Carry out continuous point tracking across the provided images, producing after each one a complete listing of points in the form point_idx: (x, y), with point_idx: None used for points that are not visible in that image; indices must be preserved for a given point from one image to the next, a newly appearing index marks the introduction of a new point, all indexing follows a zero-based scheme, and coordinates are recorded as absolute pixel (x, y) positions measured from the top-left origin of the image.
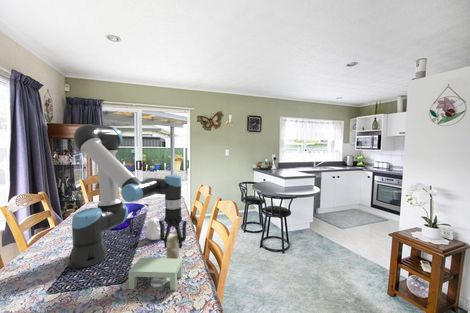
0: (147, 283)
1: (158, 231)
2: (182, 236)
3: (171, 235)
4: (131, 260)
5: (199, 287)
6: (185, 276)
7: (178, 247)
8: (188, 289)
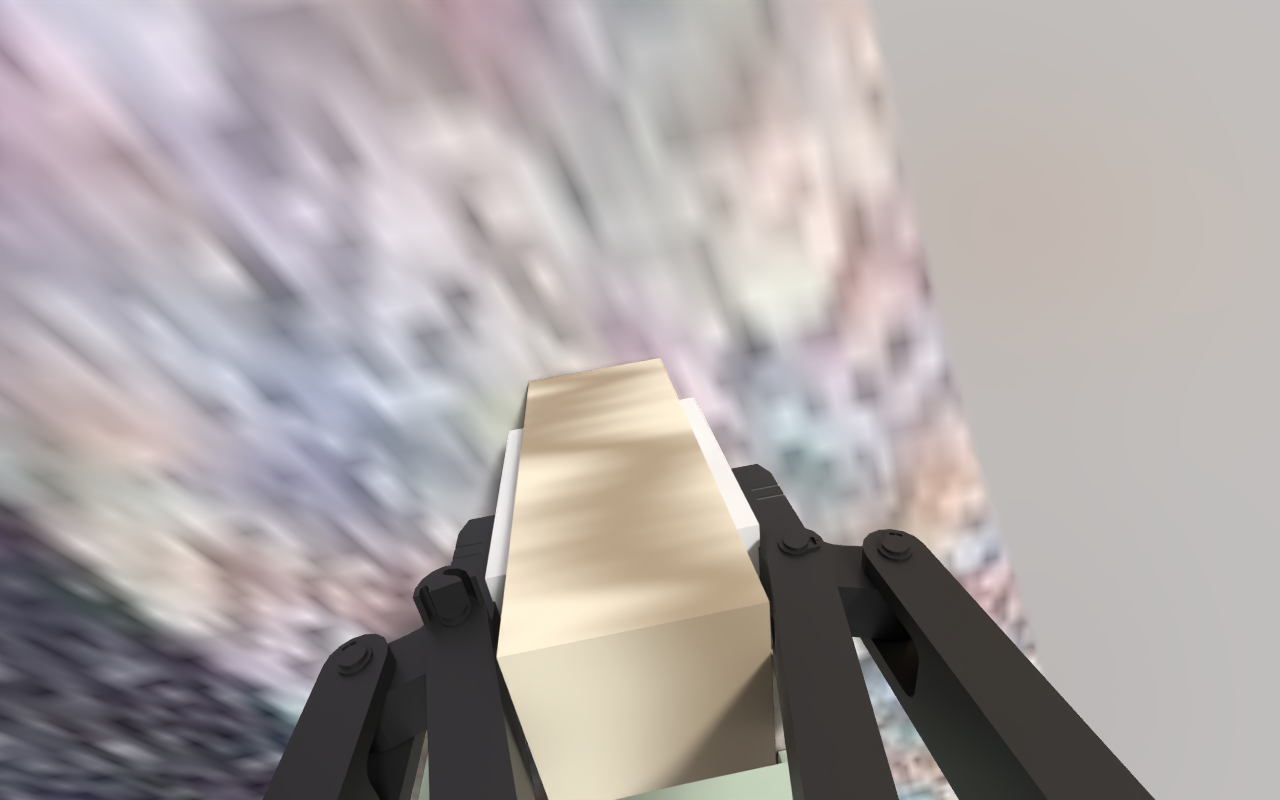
0: None
1: None
2: (904, 708)
3: (601, 724)
4: (103, 593)
5: None
6: None
7: None
8: (897, 738)
